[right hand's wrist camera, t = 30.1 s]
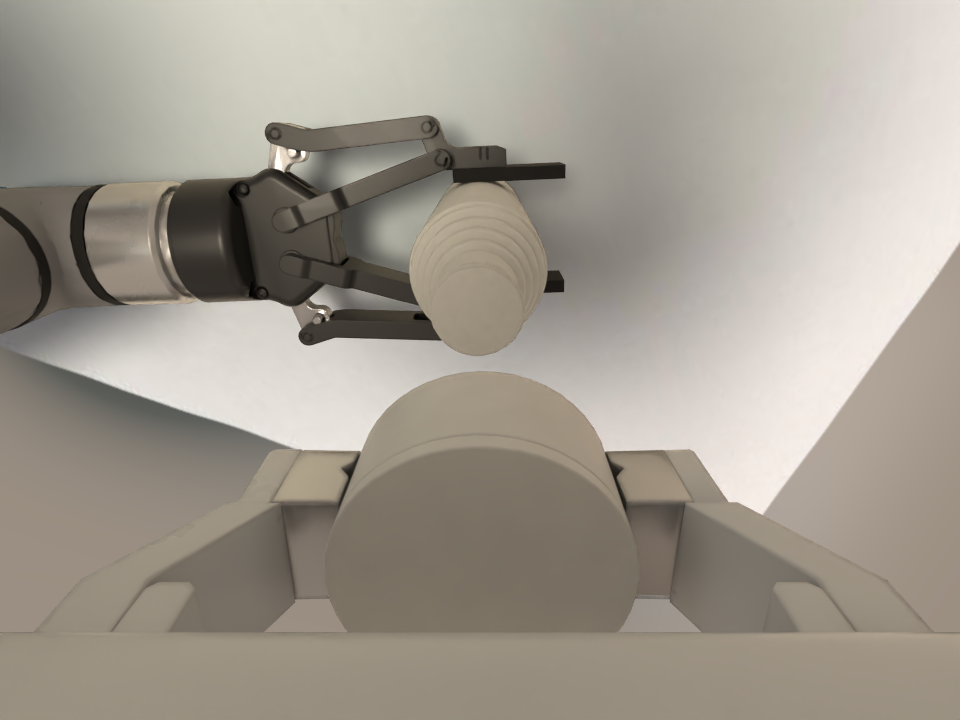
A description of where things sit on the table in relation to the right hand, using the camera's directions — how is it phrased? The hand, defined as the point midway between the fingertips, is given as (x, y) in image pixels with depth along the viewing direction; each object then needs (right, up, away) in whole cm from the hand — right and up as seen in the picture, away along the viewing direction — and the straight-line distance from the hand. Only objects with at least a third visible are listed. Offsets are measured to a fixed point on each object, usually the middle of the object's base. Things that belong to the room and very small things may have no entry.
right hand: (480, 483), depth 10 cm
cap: (0, -1, -2) cm, 2 cm away
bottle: (0, +13, +32) cm, 34 cm away
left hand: (+5, +10, +26) cm, 28 cm away
